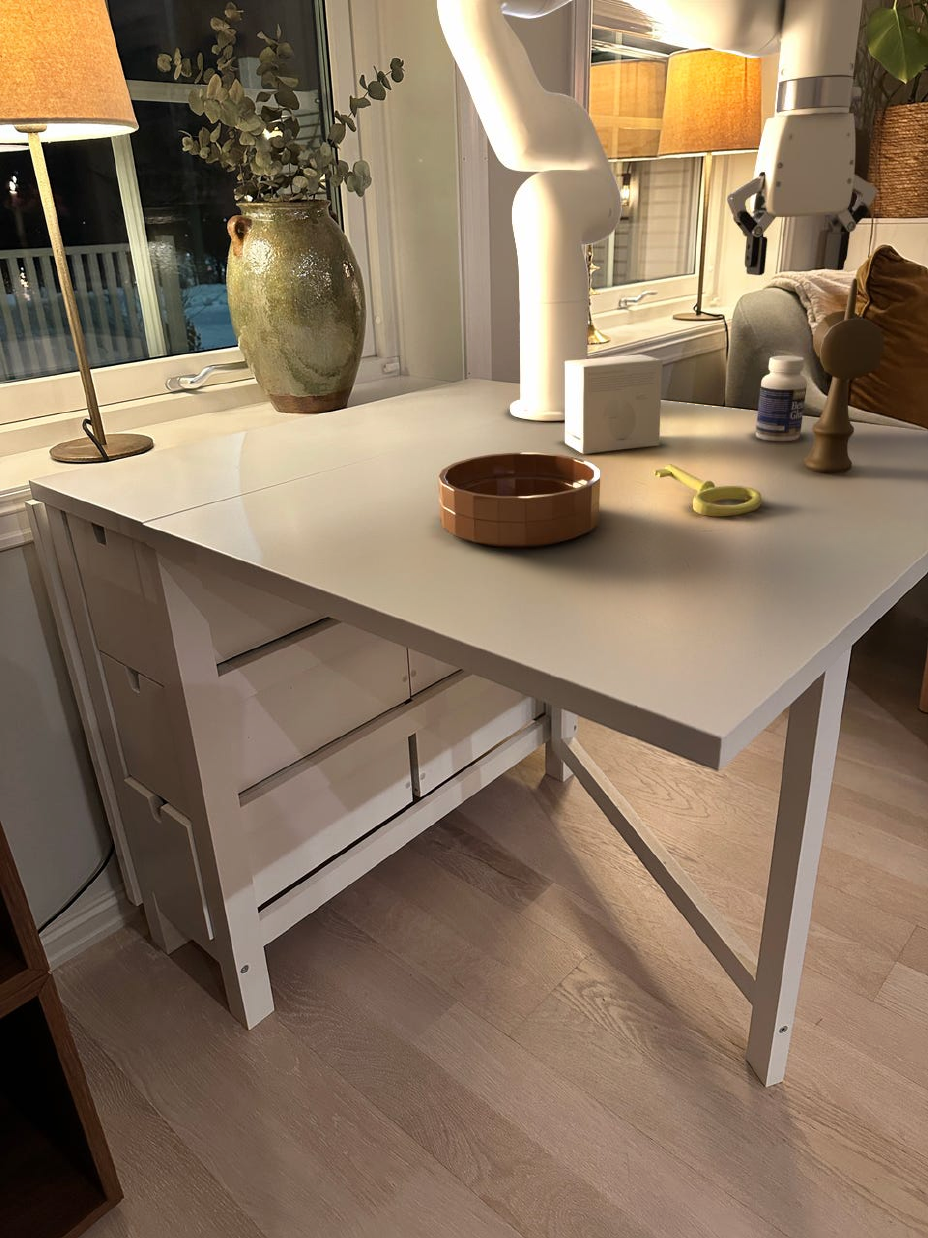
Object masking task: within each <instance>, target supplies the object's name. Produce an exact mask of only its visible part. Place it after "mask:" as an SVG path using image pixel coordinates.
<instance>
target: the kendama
mask: <svg viewBox="0 0 928 1238" xmlns="http://www.w3.org/2000/svg"><path fill="white" fill-rule="evenodd" d="M858 284H859V283H858V279H857V278H853V279H852V280H851V281H850V286H849V290H848V295H847V299H846V300H847V301H846V306H845V310H839V311H835V312H834V311H833V312H831V313H829V314H827V315H826V316H824V317H822V318H821V319H820V321H819V322H818V323H817V324H816V326H815V329H814V332H813V335H812V348H813V350H814V352H815V354H816V356H817V358H818V359H820V361H819V362H820V363H821V366H822V368H823V370H824V372H826V373H827V374H828V375H830V376H832V378H831V383H830V387H829V390H828V394H827V397H826V401H825V404H824V406H823V409H822V412H821V414H820V416H819V418H818V420H817V421H816V422H815V423H813V424H812V426H811V427H812V428H811V431H812V432H813V434H814V441H813V446H812V449H811V451H810V453H809V454H808V455H807V456H806V457H805V458H804V461H803V465H804V467H805V468H806V469H808V470H810V471H813V472H816V473H820V474H841V473H845V472H848V471H850V470H851V469H852V468H853V461H852V460H851V458H850V456H849V452H848V449H849V440H850V437H851V436H852V435H853V434H854V433H855V427H854V425H852V423H851V421H850V415H849V380H856V379H861V378H863V377H865V376H867V375H869V374H871V373H872V372H873V371H874V370H875V369H876V367H877V366H879V364H880V362H881V360H882V357H883V354H884V351H885V337H884V335H883V333H882V330H881V328H880V326H879V325H877V324H875V323H874V322H873V321H871V320H869V319H864V317H862V316H861V315H859V314H857V313H856V305H857V297H858Z"/></svg>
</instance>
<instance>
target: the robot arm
mask: <svg viewBox="0 0 928 1238" xmlns="http://www.w3.org/2000/svg"><path fill="white" fill-rule="evenodd" d="M572 1H573V0H436V7H437V14H438V18H439V23H440V26H441V29H442V32H443V35H444V38H445V40H446V43H447V44H448V47H449V49H450V51H451V54H452V56H453V58H454V59H455V62H456V63H457V66H458V68H459V70H460V72H461V74H462V76H463V78H464V80H465V83H466V86H467V88H468V91H469V93H470V96H471V99H472V101H473V104H474V106H475V108H476V111H477V114H478V115H479V118H480V120H481V122H482V125H483V128H484V130H485V132H486V135H487V137H488V141H489V142H490V144H491V146H492V149H493V152H494V153H495V155H496V157H497V159H498V161H499V162H500V163H501V164H502V165H503V166H504V167H505V168H507V169H510V170H512V171H516V172H529V173H530V172H536V173H535V174H533V175H531V176H530V177H529V178H527V179H526V180H525V181H524V182H523V183H522V184H521V185H520V187H519V188H518V190H517V191H516V193H515V196H514V199H513V204H512V208H511V209H512V210H511V221H512V229H513V235H514V239H515V245H516V251H517V260H518V262H517V263H518V275H519V276H518V277H519V316H520V317H519V333H520V334H519V337H520V339H519V341H520V342H519V347H520V350H519V351H520V352H519V353H520V356H519V357H520V360H519V361H520V362H519V363H520V399H517V400H515V401H513V402H511V404H510V405H509V410H510V414H511V415H512V416H514V417H516V418H519V419H523V420H529V421H537V422H539V421H540V422H562V421H563V422H565V361H571V360H583V359H588V354H589V353H588V348H589V347H588V345H589V308H590V307H589V306H590V279H589V278H590V276H589V268H588V264H587V259H586V255H585V252H584V246H588V245H595V244H598V243H601V242H602V241H604V240H607V238H609V237H610V236H611V235H612V234H613V233H614V232H615V230H616V228H617V227H618V225H619V222H620V220H621V216H622V210H623V209H622V206H623V205H622V203H623V202H622V195H621V191H620V187H619V185H618V181H617V178H616V176H615V174H614V171H613V169H612V166H611V164H610V161H609V159H608V156H607V153H606V151H605V149H604V146H603V144H602V141H601V139H600V137H599V133H598V132H597V130H596V127H595V125H594V122H593V120H592V117H590V115H589V113H588V112H587V110H586V109H585V108H584V106H583V105H582V104H581V103H580V102H579V101H578V100H577V99H575V98H573V97H572V96H569V95H567V94H564V93H560V92H551V91H548V90H546V89H545V88H543V86H542V84H541V83H540V81H539V79H538V78H537V75H536V74H535V71H534V69H533V67H532V64H531V62H530V59H529V55H528V54H527V51H526V49H525V47H524V45H523V43H522V41H521V40H520V39H519V37H518V36H517V34H516V33H515V31H514V30H513V29H512V27H511V25H509V23H508V22H507V20H506V18H505V16H504V15H508V16H511V17H517V18H520V19H521V18H522V19H536V18H539V17H543V16H545V15H548V14H550V13H552V12H554V11H555V10H557V9H559V8H561V7H563V6H565V5H567V4H568V3H570V2H572ZM623 1H624V2H626V3H627V4H629V5H631V6H632V7H633V8H634V9H636V10H640V11H642V12H644V13H645V14H647V15H648V16H649V17H651V18H653V19H655V20H657V22H660V23H662V24H663V25H665V26H667V27H668V28H670V29H673V30H675V31H676V32H678V33H680V34H681V35H684V36H685V37H687V38H690V39H691V40H694V42H695V41H696V42H698V43H699V44H701V45H703V46H705V47H707V48H709V49H712V50H715V51H720V52H724V53H725V52H726V53H729V54H734V55H737V56H741V57H744V58H745V57H746V58H751V59H753V58H754V59H756V58H757V59H758V58H764V57H768V56H772V55H776V54H778V53H780V55H779V66H778V67H779V68H778V78H777V88H776V89H777V90H776V97H775V99H776V100H775V110H774V117H770V118H766V121H765V124H764V128H763V131H762V136H761V138H760V144H759V148H758V153H757V157H756V162H755V169H754V175H753V179H752V180H751V181H749V182H747V183H745V184H744V185H742V186H741V187H739V188H737V189H736V190H734V191H732V192H731V193H729V194H728V196H727V198H726V201H727V204H728V207H729V209H730V212H731V214H732V218H733V222H734V223H735V224H736V225H737V227H738V228H739V229H740V230H741V231H742V235H743V236H744V237H746V239H745V240H746V241H745V253H744V266H745V268H746V270H745V271H746V275H753V276H762V275H764V274H765V270H766V260H767V250H768V249H767V248H768V237H767V236H764V235H765V234H764V233H765V232H766V231H767V229H769V227H770V225H772V223H773V222H774V221H775V219H776V218H798V217H817V216H818V217H819V216H825V218H826V220H827V221H828V222H829V224H830V226H831V227H832V231H829V232H828V234H827V237H826V246H825V247H826V248H825V254H824V263H823V268H824V269H825V270H830V271H843V270H844V269H845V267H844V266H845V262H846V261H847V258H848V252H849V244H850V237H851V236H850V235H851V233H853V232H854V231H855V230H856V228H857V226H858V224H859V223H860V222H861V220H863V218H865V216H866V215H867V214H868V209H869V208H870V206H871V205H872V203H873V201H874V200H875V197H876V196H877V193H878V188H877V187H876V186H875V185H873V184H871V183H869V182H868V181H867V180H865V179H864V178H862V177H860V176H858V175H857V174H855V169H856V168H855V167H856V127H855V126H856V125H855V123H856V122H855V115H854V113H853V112H852V113H851V112H850V108H851V107H852V103H855V102H859V101H860V99H861V97H862V88H861V87H855V86H854V83H855V79H854V71H855V62H856V55H857V48H858V39H859V32H860V24H861V15H862V8H863V0H623ZM853 193H854V194H856V196H857V197H856V200H855V203H854V205H852V206H851V207H850V205H851V200H852V196H853ZM748 199H750V212H751V213H752V214H753V215H751V213H750V212H749V211H748V210H747V206H746V202H747V201H748ZM849 207H850V208H849ZM848 208H849V209H848Z"/></svg>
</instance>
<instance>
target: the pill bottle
mask: <svg viewBox="0 0 928 1238" xmlns="http://www.w3.org/2000/svg"><path fill="white" fill-rule="evenodd" d="M804 364H805V358H804V357H801V356H796V355H774V356H771V357H770V358H769V362H768V370H769V374H766V375H765V376H763V377H762V378H761V382H760V387H759V399H758V407H757V417H756V423H755V424H756V425H755V436H756V438H758V439H760V440H763V441H769V442H793V441H796V440H798V439H799V438H800V436H801V431H802V423H803V417H804V410H805V401H806V394H807V385H808V382H807V379H806V377H805V376H803V375H802V374H801V372H803V370H804Z"/></svg>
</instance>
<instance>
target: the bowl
mask: <svg viewBox="0 0 928 1238" xmlns="http://www.w3.org/2000/svg"><path fill="white" fill-rule="evenodd" d="M437 481H438V482H437V483H438V501H439V504H438V505H439V521H440V523H441V525H442V527H443V529H444V530H446V531H447V532H448V533H450V534H452V535H454V536H455V537H458V538H461V539H464V540H467V541H470V542H473V543H477V544H480V545H486V546H491V547H500V548H534V547H543V546H549V545H555V544H559V543H563V542H566V541H569V540H571V539H575V538H577V537H580V536H582V535H584V534H586V533H588V532H591V531H592V530H593V529H594V528H595V527H596V526H597V525H598V524H599V523H600V497H601V495H600V494H601V470H600V469H599V468H598V467H597V466H596V465H594V464H593V463H591V462H588V461H586V460H584V459H580V458H578V457H574V456H568V455H563V454H556V453H555V454H554V453H545V452H544V453H543V452H505V453H504V452H503V453H493V454H491V453H490V454H485V455H481V456H475V457H470V458H466V459H463V460H460V461H456V462H455V463H454V462H453V463H451V464H450V465H448V466H446V467H444V468H443V469H442V470H441V471H440V473H439V475H438V476H437Z"/></svg>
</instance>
